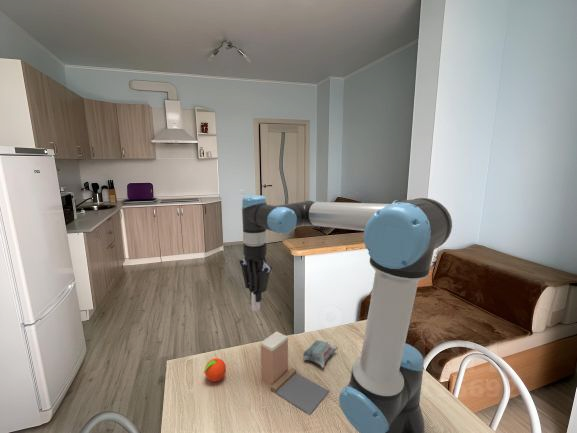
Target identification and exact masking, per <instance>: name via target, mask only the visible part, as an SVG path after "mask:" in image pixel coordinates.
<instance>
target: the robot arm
mask: <svg viewBox="0 0 577 433" xmlns="http://www.w3.org/2000/svg"><path fill="white" fill-rule="evenodd" d="M241 201H242V204H241V205H242V206H241V211H242V212H241V214H242V243H243V246H242V248H243V249H242V252H243V256H244V258H243V259H241V260H239V264H240V266H241V271H242V275H243V282H244V287H245V289H248V290H249V294H250V295H249V296H250V300H251V311H253V312H257V311H258V310H260V309H261V302H262V294H263V293H265V292H266V291H267V287H268V284H269V279H270V273H271V271H273V270H272V269H273V267H272V266H271V265H268V264H267V259H266V255H267V243H266V242H267V230H268V231H270V232H273V233H277V234H283V235H285V234H286V235H287V234H290V233H291V232H292V231H294V229H295V228H297V227H298V228H299V227H301V226H313V227H314V226H315V227H325V228H334V229H341V230H342V229H343V230H352V231H353V230H354V231H361V232H363V244H364V247H365V249H367V251H368V252H367V253H368V255H369V264H370V266H371V267H372V268H373V270H374V271H375V272H374V278H373V282H372V290H371V295H370V301H369V302H370V303H369V306H368V307H369V308H368V314H367V319H366V323H365V324H366V326H365V331H364V335H363V336H364V338H363V342H362V349H361V355H360V357H358V358H356V359H355V361H354V362H353V364H352V368H351V373H350V380H349V383H348V384H347V385H346V386H344V387H343V388H342V390H341V391H340V392H339V400H338V402H339V405H340V409H341V412H342V413H343V415H344V416H345V418H346V419H347V421H348V423H349V424H350V425H351V426H352V427H353V428H354V429H355V430H356V431H357V432H359V433H425V418H424V416H423V412H422V408H421V405H420V402H421V393H422V392H421V391H422V384H423V375H424V370H425V366H424V356H423V355H422V354H421V352H420V351H419V350H418V349H417V348H415V347H414V346H412V345H411V344H409V343H406V341H407V336H408V333H409V332H408V331H409V328H410V323H411V318H412V313H413V309H414V303H415V298H416V294H417V289H418V286H419V285H418V284H419V281H421V280H423V279H425V278H427V277H428V276H429V273H430V269H431V265H432V262H433V256H434V252H435V250H436V249H437V248H439V247H441V246H442V245H444V244H445V243H446V242H447V241H448V238H449V237H450V236H451V233H452V230H453V219H452V217H451V214H450V212H449V210H448V209H447V207H445V206H444V205H443V204H442V203H440V202H439V201H437V200H435V199H433V198H432V199H431V198H426V197H419V198H413V199H396V200H394V201H393V202H392V203H373V202H371V203H370V202H369V203H368V202H367V203H366V202H340V201H339V202H337V201H336V202H331V201H330V202H329V201H316V200H304V201H301V202H300V201H299V202H293V203H286V204H280V205H273V204H267V197H265V196H264V195H258V194H256V195H252V194H251V195H245V196H243V197H242V200H241ZM449 239H450V238H449Z"/></svg>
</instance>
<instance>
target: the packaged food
mask: <svg viewBox="0 0 577 433" xmlns="http://www.w3.org/2000/svg"><path fill="white" fill-rule="evenodd" d="M313 342H314V343H313V344H312V345H311V346H309V348H308V349H306V350H305V351H304V352H303V356H302V357H303V360H304V361H306V360H307V361H311V362H313V363H316V364H318V365H319V366H320V367H321V368H322V369H323V368H324V367H325V365H326V364H325V363H326V361H328V359H329V358H330V357H331V356H332V355H333V354H334V353H335V352H336V351H337V350H338V349H339V348H338V346H334V345H331V344H329V343H328V341H324V340H318V339H317V340H315V341H313Z"/></svg>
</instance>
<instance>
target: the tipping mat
mask: <svg viewBox="0 0 577 433" xmlns="http://www.w3.org/2000/svg"><path fill="white" fill-rule="evenodd" d="M270 391H271V392H272V393H274V394H276V395H277V396H279V397H280V398H282V399H284V400H285V401H287V402H288V403H289V404H291V405H293V406H294V407H295V408H298V409H299V410H301V411H302V412H303V413H305V414H307V415H309V416H311V415H312V413H313V412H314V411H315V410H316V409H317V407H318V406H319V405H320V403H322V402H323V400H324V399H325V398H326V396H327V395H328V394H329V392H330V390H329V389H327V388H325V387H323V386H321V385H320V384H318V383H316V382H314V381H313V380H310V379H308V378H307V377H305V376H303V375H302V374H299V373H297V369H296V368H293V367H290V368H288V371H287V372H286V373H285V374H284V375H283V376H282V377H281V378H279V379H278V380H277V381H276V382H275V383H274V384H273V385H272V386H270Z"/></svg>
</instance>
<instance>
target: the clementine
mask: <svg viewBox="0 0 577 433" xmlns="http://www.w3.org/2000/svg"><path fill="white" fill-rule="evenodd" d="M226 372H227V365H226V362H224V360H223V359H221V358H219V357H218V358H215V357H214V358H212V359H209V361H208V362H207V363H206V365H205V367H204V371H203V374H205V377H206V378H207V380H209V381H211V382H218V381H220V380H222V379H223V378H224V377H225V375H226Z"/></svg>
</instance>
